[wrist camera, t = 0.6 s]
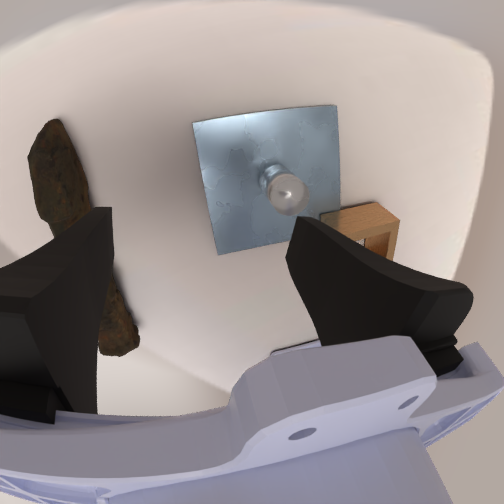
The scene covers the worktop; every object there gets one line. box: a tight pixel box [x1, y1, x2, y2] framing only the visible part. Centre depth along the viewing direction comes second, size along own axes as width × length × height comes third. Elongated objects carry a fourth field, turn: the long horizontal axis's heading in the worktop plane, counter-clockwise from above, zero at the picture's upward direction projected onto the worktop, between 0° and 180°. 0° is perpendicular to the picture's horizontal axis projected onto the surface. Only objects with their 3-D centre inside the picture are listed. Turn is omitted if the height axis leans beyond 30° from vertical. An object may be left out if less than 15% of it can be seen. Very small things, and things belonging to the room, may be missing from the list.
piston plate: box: [192, 105, 340, 255], centre depth 20 cm, size 10×10×4 cm
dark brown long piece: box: [27, 119, 140, 357], centre depth 20 cm, size 19×4×5 cm, turn 1°
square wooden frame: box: [320, 202, 400, 261], centre depth 24 cm, size 5×5×3 cm
